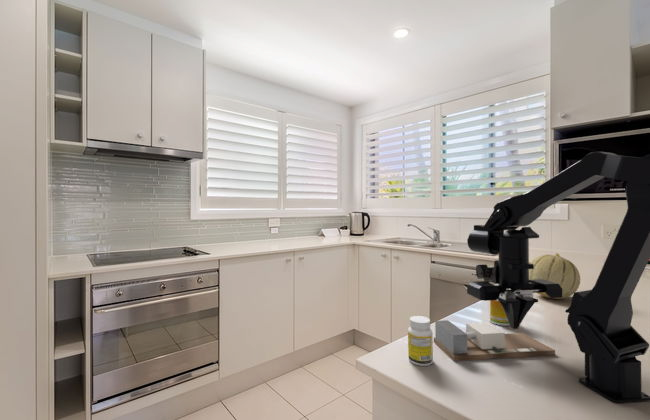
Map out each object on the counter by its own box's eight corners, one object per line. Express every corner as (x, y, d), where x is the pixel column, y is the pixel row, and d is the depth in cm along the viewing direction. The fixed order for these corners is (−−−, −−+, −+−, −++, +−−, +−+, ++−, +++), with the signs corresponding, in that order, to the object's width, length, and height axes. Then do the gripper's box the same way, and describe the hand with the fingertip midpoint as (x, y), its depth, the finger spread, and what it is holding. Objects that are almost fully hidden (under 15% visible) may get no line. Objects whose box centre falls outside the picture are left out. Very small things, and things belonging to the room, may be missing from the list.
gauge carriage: (487, 336, 70) (486, 322, 70) (511, 352, 62) (511, 336, 62) (453, 338, 70) (453, 324, 70) (474, 354, 62) (473, 338, 62)
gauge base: (523, 337, 73) (523, 332, 73) (555, 355, 64) (555, 349, 64) (433, 341, 71) (433, 336, 71) (453, 361, 62) (453, 355, 62)
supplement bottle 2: (515, 327, 79) (515, 289, 79) (492, 325, 80) (492, 288, 80) (507, 319, 84) (507, 284, 84) (486, 318, 85) (486, 283, 85)
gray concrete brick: (448, 337, 70) (447, 320, 70) (467, 354, 63) (467, 334, 63) (435, 338, 70) (435, 320, 70) (453, 354, 62) (453, 335, 62)
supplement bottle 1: (414, 353, 65) (413, 313, 65) (436, 359, 62) (436, 318, 62) (404, 361, 62) (403, 319, 62) (427, 369, 59) (427, 325, 59)
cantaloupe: (520, 297, 105) (520, 253, 105) (532, 289, 115) (532, 249, 115) (576, 307, 94) (575, 258, 94) (584, 298, 104) (583, 253, 104)
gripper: (525, 251, 77) (526, 314, 77) (454, 253, 75) (454, 317, 75) (564, 258, 66) (565, 331, 66) (481, 261, 64) (482, 336, 64)
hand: (514, 328), depth 68 cm, fingers closed
